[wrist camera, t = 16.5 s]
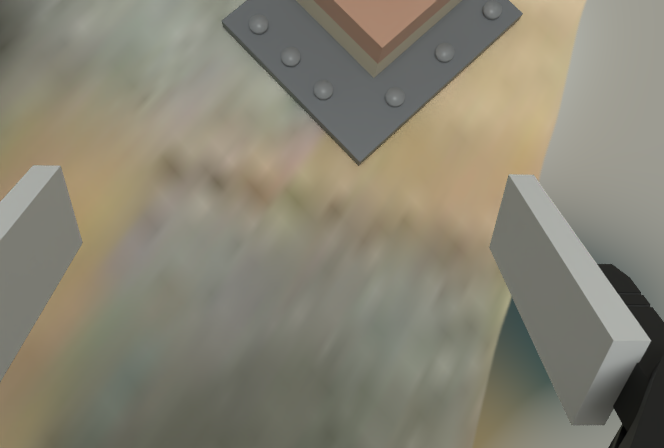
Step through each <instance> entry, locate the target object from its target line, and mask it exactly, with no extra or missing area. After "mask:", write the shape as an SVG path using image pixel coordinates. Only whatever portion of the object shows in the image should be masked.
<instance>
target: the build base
mask: <svg viewBox="0 0 664 448" xmlns="http://www.w3.org/2000/svg"><path fill="white" fill-rule="evenodd" d="M522 14H523V13H522V12H521V11H520V10H518V9H517V8H516V7H515V6H514V5H513V4H512V3H511V2H510V1H509V0H247V1H246V2H244V3H243V4H242V5H241V6H239V7H238V8H237V9H236V10H234V11H233V12H232V13H231V14H229V15H228V16H227V17H226V18H224V19H223V20H222V24H223V27H224V28H225V29H226V30H227V31H228V32H229V33H230V34H231V35H232V36H233V37H234V38H235V39H236V40H237V41H238V43H239V44H240V45H241V46H242V47H243V48H244V49H245V50H246V51H247V52H248V53H249V54H250V55H251V56H252V57H253V58H254V59H255V60H256V61H257V62H258V63H259V64H260V65H261V66H262V67H263V68H264V69H265V70H266V71H267V72H268V73H269V74H270V75H271V76H272V77H273V78H274V79H275V80H276V81H277V82H278V83H279V84H280V85H281V87H282V88H283V89H284V90H285V91H286V92H287V93H288V94H289V95H290V96H291V97H292V98H293V99H294V100H295V101H296V102H297V103H298V104H299V105H300V106H301V107H302V108H303V109H304V110H305V111H306V112H307V113H308V114H309V115H310V116H311V117H312V118H313V119H314V120H315V121H316V122H317V123H318V124H319V125H320V126H321V127H322V128H323V130H324V131H325V132H326V133H327V134H328V135H329V136H330V137H331V138H332V139H333V140H334V141H335V142H336V143H337V144H338V145H339V146H340V147H341V148H342V149H343V150H344V151H345V152H346V153H347V154H348V155H349V156H350V157H351V158H352V159H353V160H354V161H355V162H356V163H357V164H358V165H360V164H361V163H362V162H363V161H364V160H365V159H366V158H368V157H369V156H370V155H371V154H372V153H373V152H374V151H375V150H376V149H377V148H379V147H380V146H381V145H382V144H383V143H384V142H385V141H386V140H387V139H388V138H390V137H391V136H392V135H393V134H394V133H395V132H396V131H397V130H398V129H399V128H400V127H402V126H403V125H404V124H405V123H406V122H407V121H408V120H409V119H410V118H411V117H413V116H414V115H415V114H416V113H417V112H418V111H419V110H420V109H421V108H422V107H424V106H425V105H426V104H427V103H428V102H429V101H430V100H431V99H432V98H433V97H435V96H436V95H437V94H438V93H439V92H440V91H441V90H442V89H443V88H444V87H446V86H447V85H448V84H449V83H450V82H451V81H452V80H453V79H454V78H455V77H456V76H458V75H459V74H460V73H461V72H462V71H463V70H464V69H465V68H466V67H467V66H469V65H470V64H471V63H472V62H473V61H474V60H475V59H476V58H477V57H478V56H480V55H481V54H482V53H483V52H484V51H485V50H486V49H487V48H488V47H489V46H491V45H492V44H493V43H494V42H495V41H496V40H497V39H498V38H499V37H500V36H502V35H503V34H504V33H505V32H506V31H507V30H508V29H509V28H510V27H511V26H512V25H514V24H515V23H516V22H517V21H518V20H519V19H520V17H521V16H522Z"/></svg>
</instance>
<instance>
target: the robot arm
mask: <svg viewBox="0 0 664 448" xmlns="http://www.w3.org/2000/svg"><path fill="white" fill-rule="evenodd" d="M81 245H82V239H81V236H80V232H79V229H78V225H77V222H76V218H75V215H74V211H73V207H72V204H71V200H70V197H69V193H68V190H67V186H66V183H65V179H64V176H63V172H62V169H61V166H40V165H33V166H32V167H31V168H30V170H29V171H28V172H27V173H26V174H25V175H24V176H23V177H22V178H21V179H20V181H19V182H18V183H17V184H16V185H15V186H14V187H13V188H12V189H11V191H10V192H9V193H8V194H7V195H6V196H5V197H4V198H3V199H2V201H1V202H0V382H1V380H2V378H3V377H4V375H5V373H6V371H7V370H8V368H9V366H10V365H11V363H12V361H13V360H14V358H15V356H16V355H17V353H18V351H19V349H20V348H21V346H22V344H23V343H24V341H25V339H26V338H27V336H28V334H29V333H30V331H31V329H32V327H33V326H34V324H35V322H36V321H37V319H38V317H39V316H40V314H41V312H42V311H43V309H44V307H45V305H46V304H47V302H48V300H49V299H50V297H51V295H52V294H53V292H54V290H55V289H56V287H57V285H58V283H59V282H60V280H61V278H62V277H63V275H64V273H65V272H66V270H67V268H68V267H69V265H70V263H71V262H72V260H73V258H74V256H75V255H76V253H77V251H78V250H79V248H80V246H81ZM489 248H490V250H491V252H492V254H493V256H494V259H495V261H496V263H497V265H498V267H499V269H500V272H501V274H502V276H503V278H504V280H505V282H506V285H507V287H508V289H509V291H510V293H511V295H512V298H513V300H514V302H515V304H516V306H517V308H518V311H519V313H520V315H521V317H522V319H523V321H524V323H525V326H526V328H527V330H528V332H529V334H530V337H531V339H532V341H533V343H534V345H535V347H536V349H537V352H538V354H539V356H540V358H541V360H542V362H543V365H544V367H545V369H546V371H547V373H548V375H549V378H550V380H551V382H552V384H553V386H554V388H555V391H556V393H557V395H558V397H559V399H560V401H561V403H562V406H563V407H564V410H565V412H566V414H567V416H568V419H569V421H570V423H571V425H605V423H606V421H607V419H608V418H609V416H610V414H611V412H612V410H613V409H615V411H616V413H617V415H618V416H619V418H620V420H621V422H622V425H621V427H620V429H619V430H618V432H617V434H616V436H615V437H614V439H613V441H612V442H611V444H610V446H609V448H664V322H663V321H662V319H661V318H660V317H659V315H658V314H657V313H656V311H655V310H654V309H653V308H652V307H650V304H649V302H648V301H647V300H646V298H645V297H644V296H643V295H641V292H640V291H639V289H638V288H637V286H636V285H635V284H634V283H633V281H632V280H631V279H630V277H628V276H627V275H626V274H624V273H623V272H621V271H620V270H619V269H617V268H616V267H615V266H613V265H612V264H596V262H595V261H594V259H593V258H592V257H591V255H590V254H589V253H588V251H587V249H586V248H585V247H584V245H583V244H582V243H581V241H580V240H579V238H578V237H577V235H576V234H575V233H574V231H573V230H572V228H571V227H570V225H569V224H568V223H567V221H566V220H565V218H564V217H563V216H562V214H561V213H560V211H559V210H558V209H557V207H556V206H555V204H554V203H553V201H552V200H551V199H550V197H549V196H548V194H547V193H546V192H545V190H544V189H543V187H542V186H541V185H540V183H539V182H538V180H537V179H536V177H535V176H534V175H511V174H509V175H508V179H507V183H506V187H505V191H504V194H503V198H502V202H501V206H500V209H499V213H498V217H497V221H496V224H495V228H494V232H493V236H492V240H491V243H490V247H489Z"/></svg>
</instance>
